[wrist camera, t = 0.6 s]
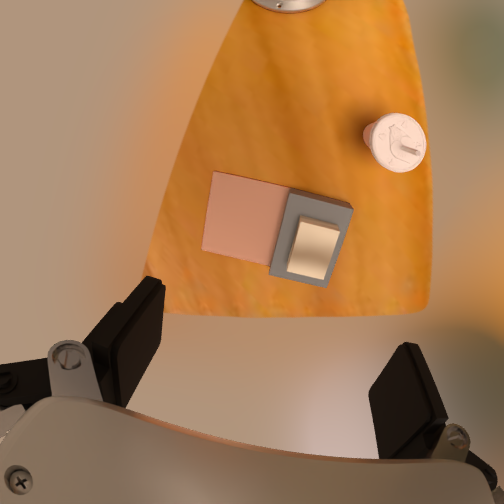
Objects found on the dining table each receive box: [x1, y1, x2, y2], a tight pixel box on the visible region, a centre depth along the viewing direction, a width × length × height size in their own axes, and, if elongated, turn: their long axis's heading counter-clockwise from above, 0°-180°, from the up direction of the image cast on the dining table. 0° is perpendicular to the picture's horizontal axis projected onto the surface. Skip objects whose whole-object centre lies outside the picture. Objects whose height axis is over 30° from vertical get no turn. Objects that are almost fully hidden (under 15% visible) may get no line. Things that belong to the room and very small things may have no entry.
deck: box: [269, 188, 353, 288], centre depth 42 cm, size 12×8×3 cm
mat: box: [201, 171, 290, 266], centre depth 43 cm, size 12×10×1 cm
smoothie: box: [363, 113, 426, 172], centre depth 29 cm, size 6×6×14 cm
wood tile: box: [287, 215, 340, 280], centre depth 39 cm, size 7×5×2 cm
